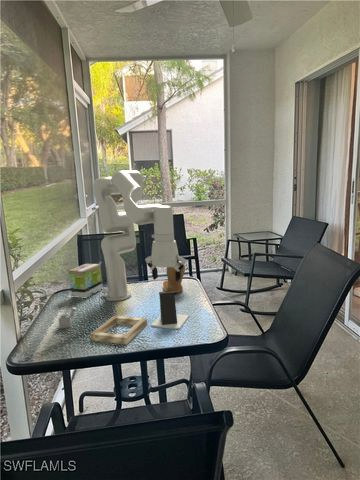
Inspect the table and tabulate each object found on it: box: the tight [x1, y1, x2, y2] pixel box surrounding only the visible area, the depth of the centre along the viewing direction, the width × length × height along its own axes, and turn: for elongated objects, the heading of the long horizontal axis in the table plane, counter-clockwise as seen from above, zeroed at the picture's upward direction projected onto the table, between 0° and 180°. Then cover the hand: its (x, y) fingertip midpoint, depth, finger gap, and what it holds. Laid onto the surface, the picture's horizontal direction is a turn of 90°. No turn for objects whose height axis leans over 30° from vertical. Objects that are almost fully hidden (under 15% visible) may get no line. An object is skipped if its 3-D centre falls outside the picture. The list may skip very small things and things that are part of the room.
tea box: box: [68, 263, 103, 298], centre depth 175 cm, size 15×10×15 cm, turn 160°
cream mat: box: [150, 313, 190, 330], centre depth 135 cm, size 12×12×1 cm
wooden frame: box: [89, 315, 148, 345], centre depth 128 cm, size 15×17×2 cm
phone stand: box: [158, 291, 177, 325], centre depth 134 cm, size 9×6×12 cm, turn 7°
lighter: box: [58, 306, 77, 329], centre depth 136 cm, size 7×2×8 cm, turn 100°
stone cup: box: [162, 261, 186, 294], centre depth 172 cm, size 15×12×15 cm
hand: (166, 279), depth 132 cm, fingers open, 9 cm apart
